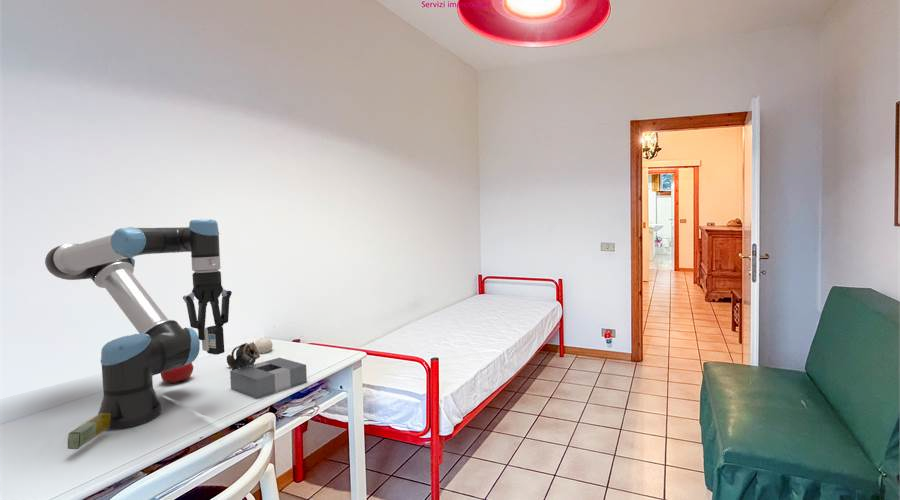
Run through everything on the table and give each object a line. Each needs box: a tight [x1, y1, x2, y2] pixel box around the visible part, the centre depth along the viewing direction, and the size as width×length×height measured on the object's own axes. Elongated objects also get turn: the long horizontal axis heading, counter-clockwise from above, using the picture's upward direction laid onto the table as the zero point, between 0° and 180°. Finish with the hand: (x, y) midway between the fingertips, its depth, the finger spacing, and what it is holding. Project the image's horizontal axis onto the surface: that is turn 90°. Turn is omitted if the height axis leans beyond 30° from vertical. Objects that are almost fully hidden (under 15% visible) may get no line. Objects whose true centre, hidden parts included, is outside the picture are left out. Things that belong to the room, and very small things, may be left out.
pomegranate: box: [160, 362, 194, 384], centre depth 160 cm, size 10×10×9 cm
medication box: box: [67, 413, 111, 450], centre depth 115 cm, size 12×3×4 cm, turn 5°
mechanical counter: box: [226, 342, 261, 368], centre depth 170 cm, size 7×13×10 cm, turn 89°
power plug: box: [231, 353, 257, 370], centre depth 158 cm, size 6×8×12 cm
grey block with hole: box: [229, 357, 308, 400], centre depth 151 cm, size 18×16×6 cm
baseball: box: [254, 337, 273, 354], centre depth 191 cm, size 7×7×7 cm
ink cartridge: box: [205, 325, 225, 356], centre depth 134 cm, size 5×2×8 cm, turn 62°
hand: (211, 348), depth 136 cm, fingers closed on ink cartridge, 2 cm apart
